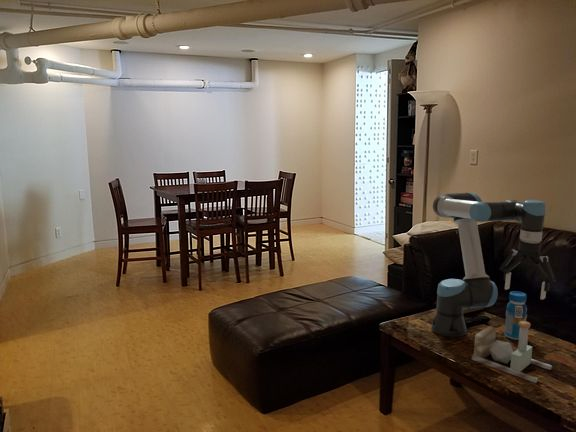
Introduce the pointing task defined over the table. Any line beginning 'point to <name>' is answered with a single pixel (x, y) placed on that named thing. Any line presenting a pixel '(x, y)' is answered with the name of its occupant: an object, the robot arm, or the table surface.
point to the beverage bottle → (515, 314)
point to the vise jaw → (522, 349)
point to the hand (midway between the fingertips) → (524, 293)
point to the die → (501, 351)
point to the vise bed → (482, 350)
